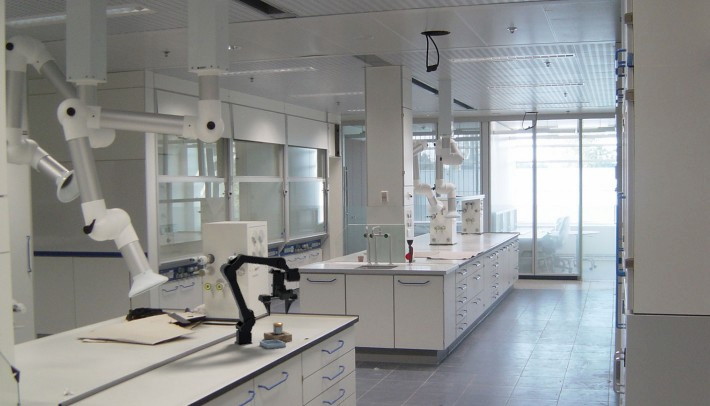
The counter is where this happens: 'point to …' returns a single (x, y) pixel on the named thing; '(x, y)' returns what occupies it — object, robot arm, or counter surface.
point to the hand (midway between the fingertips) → (277, 314)
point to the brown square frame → (278, 336)
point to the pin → (277, 328)
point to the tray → (272, 344)
